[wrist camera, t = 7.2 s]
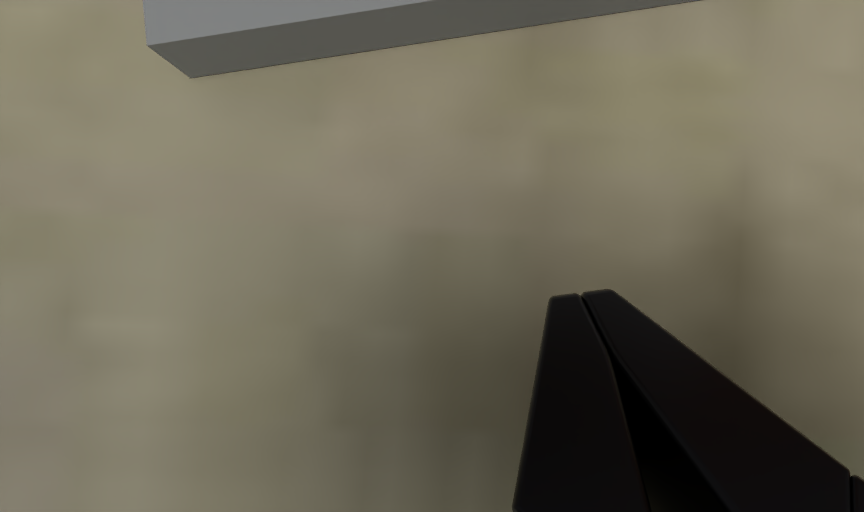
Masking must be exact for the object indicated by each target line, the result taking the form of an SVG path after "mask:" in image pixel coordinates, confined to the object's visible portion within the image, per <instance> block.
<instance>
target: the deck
mask: <svg viewBox="0 0 864 512" xmlns="http://www.w3.org/2000/svg"><path fill="white" fill-rule="evenodd" d="M691 1H697V0H143V8H144V19H145V30H146V41H147V46H148V47H149V48H151V49H152V50H153V51H155V52H156V53H157V54H159V55H160V56H162V57H163V58H164V59H166V60H167V61H168V62H170V63H171V64H172V65H174V66H175V67H176V68H178V69H179V70H180V71H182V72H183V73H184V74H186V75H187V76H188V77H190V78H194V77H201V76H208V75H214V74H221V73H227V72H234V71H240V70H247V69H253V68H260V67H266V66H273V65H279V64H286V63H292V62H299V61H305V60H312V59H319V58H325V57H332V56H338V55H345V54H351V53H358V52H364V51H371V50H377V49H384V48H390V47H397V46H403V45H410V44H416V43H423V42H430V41H436V40H443V39H449V38H456V37H462V36H469V35H475V34H482V33H488V32H495V31H501V30H508V29H514V28H521V27H528V26H534V25H541V24H547V23H554V22H560V21H567V20H573V19H580V18H586V17H593V16H599V15H606V14H612V13H619V12H625V11H632V10H639V9H645V8H652V7H658V6H665V5H671V4H678V3H684V2H691Z"/></svg>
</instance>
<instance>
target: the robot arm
mask: <svg viewBox="0 0 864 512" xmlns="http://www.w3.org/2000/svg"><path fill="white" fill-rule="evenodd" d="M512 511H513V512H864V480H863V479H861V478H860V477H859V476H856V475H853V476H851V477H850V471H849V469H848V468H846V467H845V466H844V465H843V464H841V463H840V462H839V461H837V460H836V459H835V458H833V457H832V456H831V455H829V454H828V453H827V452H825V451H824V450H823V449H821V448H820V447H819V446H817V445H816V444H815V443H814V442H812V441H811V440H810V439H808V438H807V437H806V436H804V435H803V434H802V433H800V432H799V431H798V430H796V429H795V428H794V427H792V426H791V425H790V424H789V423H787V422H786V421H785V420H783V419H782V418H781V417H779V416H778V415H777V414H775V413H774V412H773V411H771V410H770V409H769V408H767V407H766V406H765V405H764V404H762V403H761V402H760V401H758V400H757V399H756V398H754V397H753V396H752V395H750V394H749V393H748V392H746V391H745V390H744V389H742V388H741V387H740V386H739V385H737V384H736V383H735V382H733V381H732V380H731V379H729V378H728V377H727V376H725V375H724V374H723V373H721V372H720V371H719V370H717V369H716V368H715V367H714V366H712V365H711V364H710V363H708V362H707V361H706V360H704V359H703V358H702V357H700V356H699V355H698V354H696V353H695V352H694V351H692V350H691V349H690V348H689V347H687V346H686V345H685V344H683V343H682V342H681V341H679V340H678V339H677V338H675V337H674V336H673V335H671V334H670V333H669V332H667V331H666V330H665V329H664V328H662V327H661V326H660V325H658V324H657V323H656V322H654V321H653V320H652V319H650V318H649V317H648V316H646V315H645V314H644V313H642V312H641V311H640V310H638V309H637V308H636V307H635V306H633V305H632V304H631V303H629V302H628V301H627V300H625V299H624V298H623V297H621V296H620V295H619V294H617V293H616V292H615V291H613V290H610V289H604V290H596V291H588V292H584V293H583V294H582V295H581V296H580V295H578V294H576V293H573V294H565V295H558V296H552V297H551V298H550V299H549V302H548V308H547V313H546V319H545V325H544V330H543V336H542V342H541V347H540V353H539V358H538V364H537V370H536V375H535V381H534V386H533V392H532V398H531V403H530V409H529V415H528V420H527V426H526V431H525V437H524V443H523V448H522V454H521V459H520V465H519V471H518V476H517V482H516V488H515V493H514V499H513V504H512Z"/></svg>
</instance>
